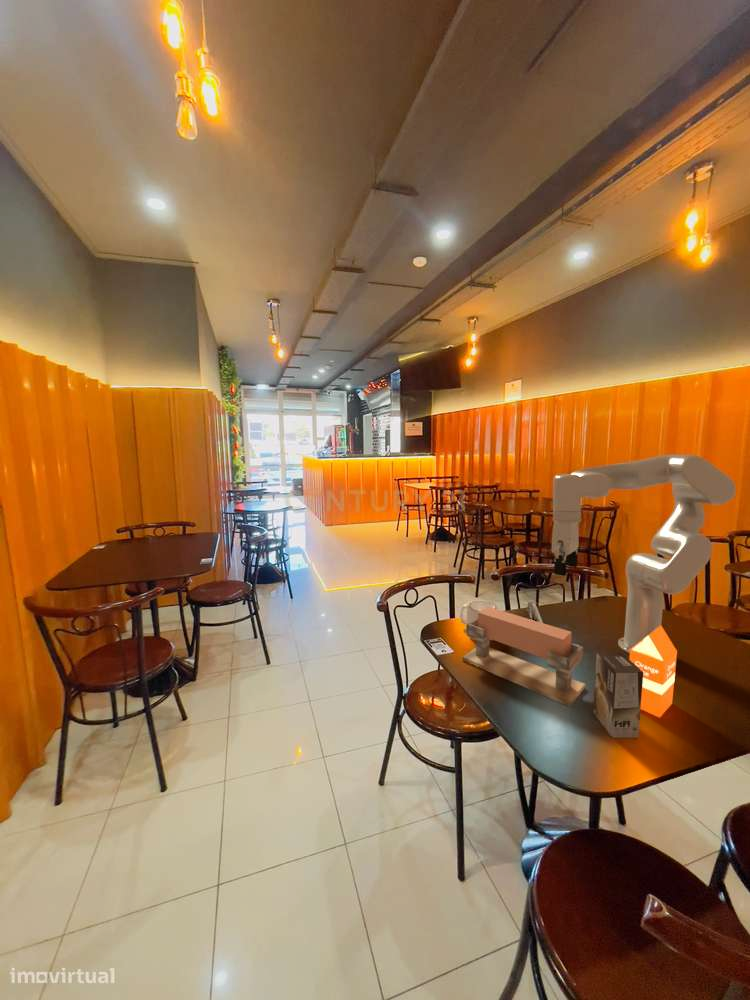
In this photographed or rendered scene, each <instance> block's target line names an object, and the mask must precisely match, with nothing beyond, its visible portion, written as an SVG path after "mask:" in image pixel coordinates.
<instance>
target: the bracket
mask: <svg viewBox="0 0 750 1000" xmlns="http://www.w3.org/2000/svg"><path fill="white" fill-rule="evenodd" d="M537 604H538V603H537V602H535V601H529V602H527V605H526V611H527V612H528V614H529V619H530V618H531V620H533V618H534V621H535V620H536V621H537V622H541V623H544V622H543V620H542V616H541V614H540V612H539V609H538V607H537ZM527 608H529V609H527Z"/></svg>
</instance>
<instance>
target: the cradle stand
mask: <svg viewBox="0 0 750 1000" xmlns="http://www.w3.org/2000/svg"><path fill="white" fill-rule="evenodd" d="M484 631H485V629H483V628H480V627H478V618H476V619H474V620H473V621H471V622H469V623H468V624H467V627H466V626H465V634H466V633H467V635H466V637H468V638H469V637H471V638H474V639H476V640H475V648H473V649H471V651H469V652H468V653H466V654H465V655H463V656H462V661H463V662H465V661H466V662H465V663H467V662H468V664H469V665H472V664H473V665H472V666H474V665H475V667H477V668H479V667H480V668H479V669H481V668H482V670H484V671H486V672H489V673H491V674H493V675H494V676H498V677H500V678H503V679H504V680H508V682H509V681H510V682H512V683H514V684H517V685H518V686H521V687H523V688H525V689H528V690H530V691H533V692H535V693H537V694H540V695H542V696H545V697H547V698H549V699H552V700H554V701H557V702H558V703H561V704H563V705H566V706H568V707H571V706H572V705H573V703H574V702H575V701H576V699H577V698H579V696H580V695H581V694H582V692H583V691H584V689H585V687H586V683H584V682H581V681H579V680H577V679H573V678H572V677H573V670H574V669H575V667H577V665H578V664H579V663H580V662H581V661H582V658H583V657H584V656H583V655H584V646H581V645H579V644H576V643H572V642H571V651H570V657H569V658H566V657H563V656H561V655H558V654H555V653H552V652H548V654H547V659H546V666H547V667H548V668H551V669H554V670H555V671H554V670H553V671H552V670H550V669H548V668H544V667H542V666H539V665H537V664H534V663H532V662H530V661H529V662H528V661H526V660H523V659H521V658H518V657H516V656H513V655H510V654H508V653H505V652H502V651H500V650H497V649H495V648H492V647H490V645H491V644H490V642H491V641H490V638H487V637H484ZM471 638H470V639H471Z"/></svg>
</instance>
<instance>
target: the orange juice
mask: <svg viewBox="0 0 750 1000" xmlns="http://www.w3.org/2000/svg"><path fill="white" fill-rule="evenodd" d="M676 649H677V648H676V647H675V646H674V644H673V642H672V641H671V639H670V637H669V636H668V634H667V632H666V631H665V629H664V628H663V626H662V625H661V626H660V627H658V628H657V629H656V630H654V631H653V632H652V633H651V634H649V635H648V636H647V637H645V638H644V639H643V640H642V641H640V643H638V644H637V645H636V646H634V647H633V648H632V649H631V650H630V653H629V657H628V659H629V660H630V661H631V662H633V663H634V664H635V665H636V666H637V667H638V668H639V669H640V670H642V671H643V672H644V673H643V684H642V697H641V710H642V711H645V712H646V713H648V714H650V715H653V716H655V717H658V718H661V717H662V716H663V715H664V713H665V712H666V711H667V710H668V709H669V708H670V707H671V705H673V696H674V686H675V680H676V679H675V677H676V668H677V657H678V656H677V655H678V650H676Z"/></svg>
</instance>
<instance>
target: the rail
mask: <svg viewBox="0 0 750 1000" xmlns="http://www.w3.org/2000/svg"><path fill="white" fill-rule="evenodd" d="M478 627H480V628H483V629H485V631H484V637H487V638H490V639H492V640H491V641H496V642H498V643H500V644H503V645H506V646H509V647H512V648H515V649H518V650H520V651H523V652H525V653H528V654H532V655H535V656H538V657H540V658H543V659H545V660H547V654H548V652H552V653H555V654H558V655H561V656H563V657H566V658H569V657H570V651H571V643H572V631H570V630H566V629H564V628H561V627H557V626H553V625H550V624H547V623H544V622H543V623H541V622H538V620H536V621H535V619H534V620H533V619H532V620H531V619H530V618H527V617H523V616H520V615H517V614H514V613H510V612H507V611H503V610H500V609H494V608H491V607H487V608H485V609H483V610H482V611H480V612H478Z"/></svg>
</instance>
